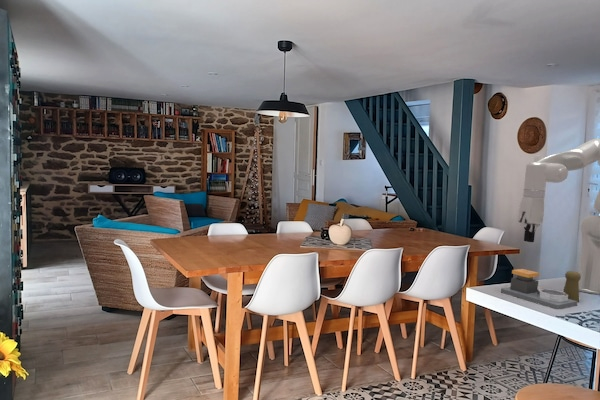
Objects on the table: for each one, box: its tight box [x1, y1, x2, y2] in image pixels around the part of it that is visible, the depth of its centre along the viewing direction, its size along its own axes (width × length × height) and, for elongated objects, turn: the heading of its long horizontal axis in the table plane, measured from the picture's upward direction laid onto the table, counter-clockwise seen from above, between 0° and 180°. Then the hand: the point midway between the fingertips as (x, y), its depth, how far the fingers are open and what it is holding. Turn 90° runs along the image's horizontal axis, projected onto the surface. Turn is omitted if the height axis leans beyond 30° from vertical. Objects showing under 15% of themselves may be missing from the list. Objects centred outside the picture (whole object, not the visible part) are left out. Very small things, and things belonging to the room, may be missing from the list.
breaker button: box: [511, 268, 540, 281], centre depth 195 cm, size 7×7×4 cm
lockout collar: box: [537, 288, 568, 303], centre depth 185 cm, size 10×10×2 cm
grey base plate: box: [500, 276, 578, 310], centre depth 190 cm, size 13×23×6 cm, turn 33°
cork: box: [562, 270, 581, 303], centre depth 191 cm, size 6×6×11 cm
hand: (528, 241), depth 193 cm, fingers closed
